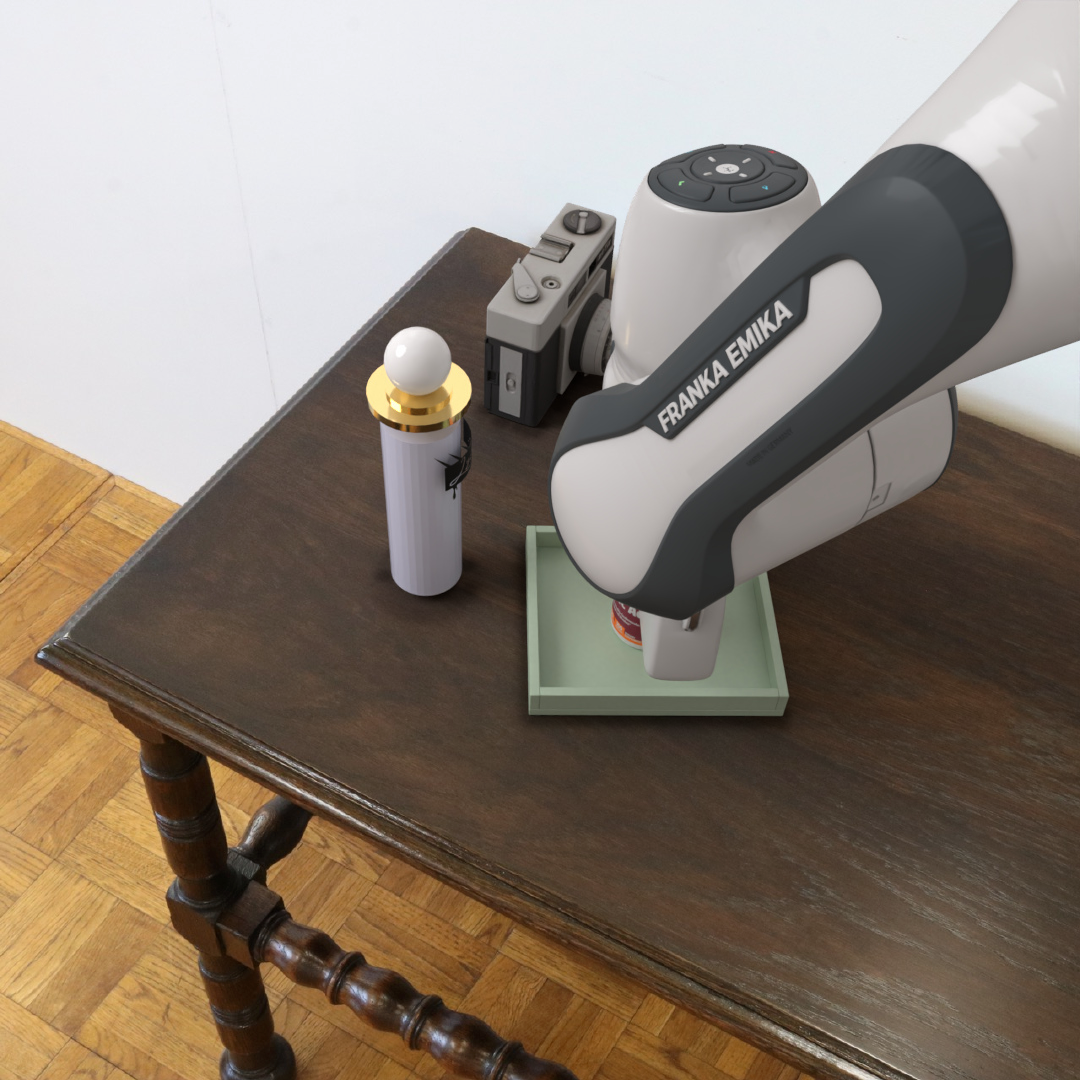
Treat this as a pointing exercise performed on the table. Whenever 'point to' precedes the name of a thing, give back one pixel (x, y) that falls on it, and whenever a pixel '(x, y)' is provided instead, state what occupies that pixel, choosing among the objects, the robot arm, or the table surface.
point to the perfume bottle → (422, 457)
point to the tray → (638, 650)
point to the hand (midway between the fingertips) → (653, 595)
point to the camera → (551, 317)
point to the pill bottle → (626, 624)
